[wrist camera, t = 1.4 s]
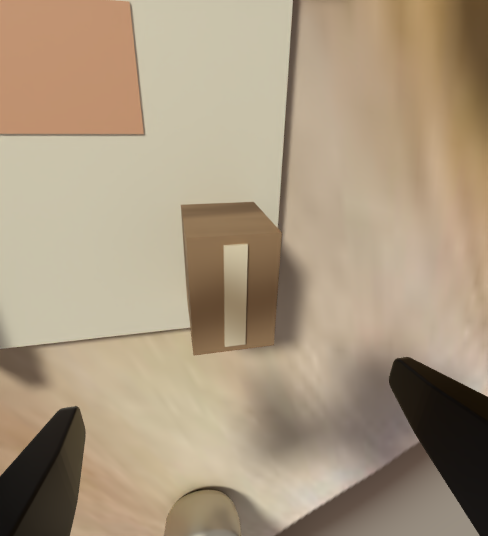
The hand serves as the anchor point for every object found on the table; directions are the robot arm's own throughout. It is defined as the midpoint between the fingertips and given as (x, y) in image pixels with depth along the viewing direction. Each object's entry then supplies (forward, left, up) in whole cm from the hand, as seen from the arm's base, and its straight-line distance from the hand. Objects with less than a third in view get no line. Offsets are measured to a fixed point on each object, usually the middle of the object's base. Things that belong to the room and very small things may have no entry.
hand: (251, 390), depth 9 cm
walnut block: (-1, +1, -11) cm, 11 cm away
